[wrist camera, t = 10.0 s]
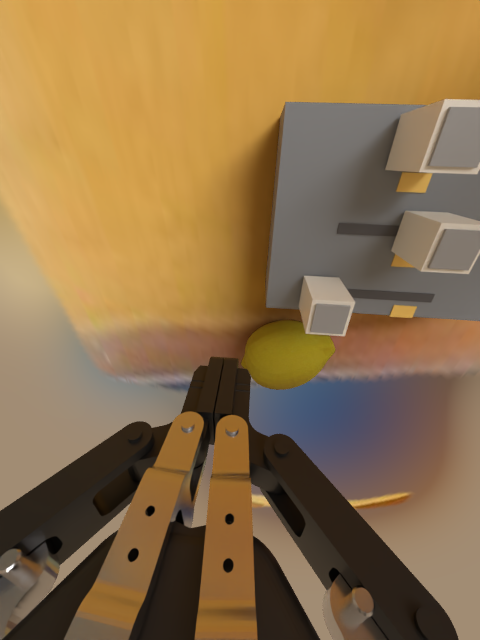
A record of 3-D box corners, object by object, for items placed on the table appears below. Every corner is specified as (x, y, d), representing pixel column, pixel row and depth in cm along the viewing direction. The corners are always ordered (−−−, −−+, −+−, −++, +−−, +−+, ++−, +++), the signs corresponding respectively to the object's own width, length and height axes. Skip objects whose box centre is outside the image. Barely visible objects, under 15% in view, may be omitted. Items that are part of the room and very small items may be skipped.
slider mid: (447, 212, 18) (497, 226, 14) (429, 252, 20) (470, 275, 16) (405, 210, 19) (443, 223, 15) (391, 250, 20) (422, 272, 16)
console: (558, 123, 20) (661, 110, 15) (461, 297, 28) (506, 327, 23) (280, 116, 21) (285, 101, 16) (265, 285, 29) (265, 311, 24)
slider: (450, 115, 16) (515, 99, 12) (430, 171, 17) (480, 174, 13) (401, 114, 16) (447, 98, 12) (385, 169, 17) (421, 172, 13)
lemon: (248, 362, 36) (245, 408, 29) (235, 316, 32) (227, 357, 25) (327, 351, 34) (343, 399, 27) (323, 300, 30) (340, 341, 23)
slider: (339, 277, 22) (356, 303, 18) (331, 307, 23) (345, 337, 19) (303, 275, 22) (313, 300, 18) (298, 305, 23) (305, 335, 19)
